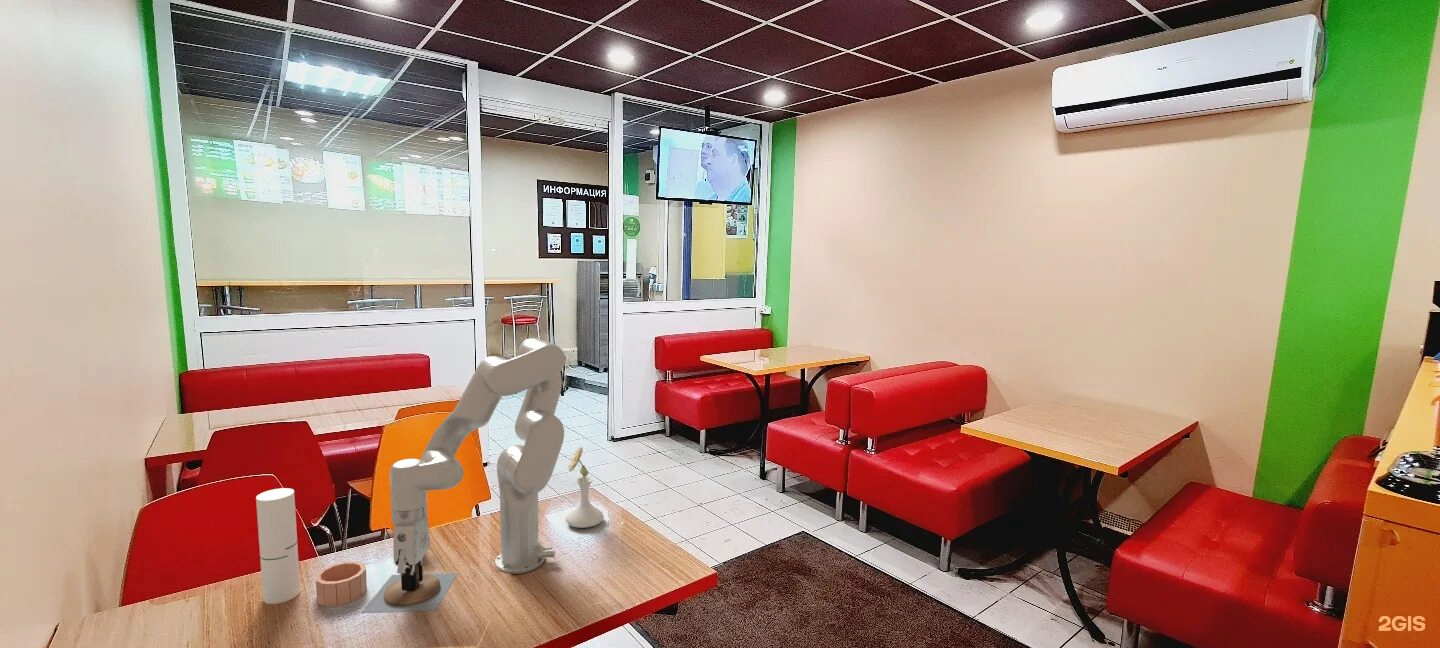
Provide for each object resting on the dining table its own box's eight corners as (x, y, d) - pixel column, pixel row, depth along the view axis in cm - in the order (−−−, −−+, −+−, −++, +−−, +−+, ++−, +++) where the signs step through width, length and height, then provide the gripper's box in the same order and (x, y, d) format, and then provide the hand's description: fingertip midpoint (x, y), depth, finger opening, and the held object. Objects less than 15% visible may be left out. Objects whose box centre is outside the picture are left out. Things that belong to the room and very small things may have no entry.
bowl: (374, 583, 151) (373, 560, 150) (354, 607, 141) (352, 583, 140) (331, 585, 150) (329, 561, 149) (307, 608, 140) (306, 584, 139)
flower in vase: (572, 513, 193) (572, 436, 190) (608, 516, 192) (608, 439, 189) (557, 532, 180) (557, 450, 177) (595, 535, 179) (595, 452, 176)
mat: (458, 575, 156) (458, 573, 156) (435, 612, 140) (435, 610, 140) (392, 577, 154) (392, 574, 154) (361, 615, 138) (361, 612, 138)
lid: (447, 577, 154) (446, 554, 153) (429, 605, 142) (428, 580, 141) (396, 579, 152) (395, 556, 152) (374, 607, 140) (373, 582, 140)
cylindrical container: (307, 590, 147) (301, 490, 144) (277, 606, 141) (270, 502, 138) (286, 584, 150) (279, 486, 147) (255, 600, 143) (248, 497, 140)
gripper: (412, 527, 137) (415, 604, 139) (438, 497, 153) (440, 567, 155) (377, 528, 136) (380, 605, 138) (407, 498, 152) (409, 568, 155)
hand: (412, 584), depth 147 cm, fingers closed on lid, 3 cm apart
